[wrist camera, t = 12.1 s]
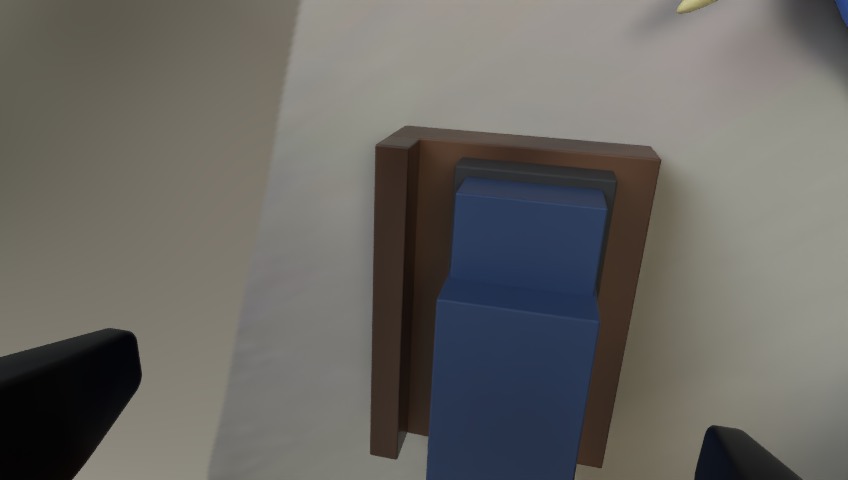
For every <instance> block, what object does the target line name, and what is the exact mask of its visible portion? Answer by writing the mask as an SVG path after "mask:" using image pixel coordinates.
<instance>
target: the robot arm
mask: <svg viewBox="0 0 848 480" xmlns="http://www.w3.org/2000/svg"><path fill="white" fill-rule="evenodd" d="M141 377H142V371H141V364H140V357H139V351H138V344H137V339H136V337H135V335H134V334H133V333H132V332H130V331H125V330H119V329H113V328H107V329H103V330H100V331H96V332H92V333H88V334H84V335H81V336H77V337H73V338H70V339H66V340H62V341H59V342H55V343H51V344H47V345H44V346H40V347H37V348H33V349H29V350H25V351H21V352H18V353H14V354H10V355H7V356H3V357H0V480H72V479H73V478H74V477H75V476H76V474H77V473H78V472H79V471H80V469H81V468H82V467H83V466H84V464H85V463H86V462H87V460H88V459H89V458H90V456H91V455H92V453H93V452H94V451H95V449H96V448H97V446H98V445H99V444H100V442H101V441H102V439H103V438H104V436H105V435H106V434H107V432H108V431H109V429H110V428H111V427H112V425H113V424H114V422H115V421H116V419H117V418H118V417H119V415H120V414H121V412H122V411H123V409H124V408H125V407H126V405H127V404H128V402H129V401H130V399H131V398H132V397H133V395H134V394H135V392H136V391H137V389H138V387H139V385H140V382H141ZM694 480H803V479H801V478H800V477H799V476H798V475H797V474H795V473H794V472H793V471H792V470H790V469H789V468H788V467H787V466H786V465H784V464H783V463H782V462H781V461H779V460H778V459H777V458H776V457H775V456H773V455H772V454H771V453H770V452H768V451H767V450H766V449H765V448H764V447H762V446H761V445H760V444H759V443H757V442H756V441H755V440H754V439H753V438H751V437H750V436H749V435H748V434H746V433H745V432H744V431H742V430H740V429H735V428H729V427H722V426H716V425H712V426H710V427H709V428H708V429H707V431H706V433H705V436H704V440H703V444H702V448H701V452H700V455H699V459H698V463H697V467H696V471H695V479H694Z"/></svg>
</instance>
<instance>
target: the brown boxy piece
mask: <svg viewBox="0 0 848 480" xmlns="http://www.w3.org/2000/svg"><path fill="white" fill-rule="evenodd" d="M462 157H467V158H478V159H489V160H500V161H511V162H522V163H533V164H544V165H555V166H566V167H577V168H588V169H599V170H610V171H613V172H614V173H615V176H616V179H617V182H618V183H617V189H616V195H615V201H614V207H613V213H612V219H611V225H610V231H609V237H608V243H607V249H606V255H605V261H604V267H603V273H602V279H601V285H600V291H599V297H598V307H599V315H600V322H601V324H600V330H599V336H598V342H597V348H596V353H595V359H594V365H593V371H592V377H591V383H590V389H589V394H588V400H587V406H586V412H585V418H584V424H583V429H582V435H581V441H580V447H579V453H578V459H577V464H581V465H587V466H592V467H597V468H602V464H603V459H604V454H605V449H606V443H607V438H608V433H609V428H610V423H611V417H612V412H613V407H614V402H615V397H616V391H617V386H618V381H619V376H620V371H621V366H622V360H623V355H624V350H625V345H626V340H627V334H628V329H629V324H630V319H631V314H632V308H633V303H634V298H635V293H636V288H637V282H638V277H639V272H640V267H641V262H642V257H643V251H644V246H645V241H646V236H647V231H648V225H649V220H650V215H651V210H652V205H653V199H654V194H655V189H656V184H657V179H658V173H659V168H660V163H661V159H660V158H659V157H658V155H657V154H656V153H655V151H654V150H653V149H652V147H650V146H640V145H628V144H617V143H605V142H593V141H581V140H569V139H557V138H546V137H534V136H522V135H510V134H498V133H486V132H474V131H463V130H451V129H439V128H427V127H415V126H404V127H403V128H401V129H400V130H398V131H396V132H395V133H393V134H392V135H390V136H389V137H387V138H386V139H384V140H382V141H381V142H379V143H378V144H376V146H375V202H374V259H373V317H372V374H371V432H370V454H371V455H375V456H381V457H386V458H391V459H397V458H398V456H399V453H400V450H401V448H402V445H403V442H404V440H405V437H406V434H407V432H408V433H414V434H419V435H424V436H429V422H430V405H431V388H432V371H433V354H434V337H435V320H436V303H437V299H438V296H439V294H440V292H441V290H442V288H443V285H444V283H445V281H446V279H447V277H448V265H449V250H450V234H451V219H452V203H453V188H454V173H455V166H456V164H457V163H458V162H459V160H460V159H461V158H462Z"/></svg>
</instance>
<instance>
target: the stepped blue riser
mask: <svg viewBox="0 0 848 480" xmlns="http://www.w3.org/2000/svg"><path fill="white" fill-rule="evenodd" d="M617 183H618V182H617V179H616V176H615V173H614V172H613V171H610V170H599V169H588V168H577V167H566V166H555V165H544V164H533V163H522V162H511V161H500V160H489V159H478V158H467V157H462V158H461V159H460V160H459V162H458V163H457V164H456V166H455V173H454V188H453V203H452V219H451V234H450V250H449V265H448V277H447V279H446V281H445V283H444V285H443V288H442V290H441V292H440V294H439V296H438V299H437V303H436V320H435V337H434V354H433V371H432V388H431V405H430V422H429V439H428V457H427V474H426V480H574V476H575V470H576V465H577V459H578V453H579V447H580V441H581V435H582V429H583V424H584V418H585V412H586V406H587V400H588V394H589V389H590V383H591V377H592V371H593V365H594V359H595V353H596V348H597V342H598V336H599V330H600V324H601V322H600V315H599V307H598V297H599V291H600V285H601V279H602V273H603V267H604V261H605V255H606V249H607V243H608V237H609V231H610V225H611V219H612V213H613V207H614V201H615V195H616V189H617Z"/></svg>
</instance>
